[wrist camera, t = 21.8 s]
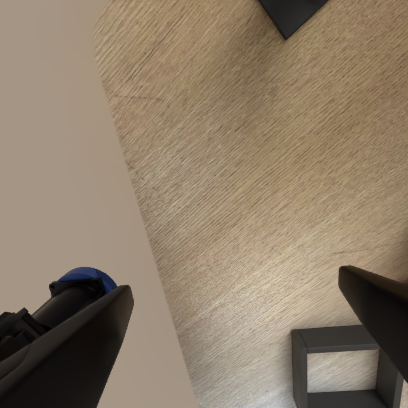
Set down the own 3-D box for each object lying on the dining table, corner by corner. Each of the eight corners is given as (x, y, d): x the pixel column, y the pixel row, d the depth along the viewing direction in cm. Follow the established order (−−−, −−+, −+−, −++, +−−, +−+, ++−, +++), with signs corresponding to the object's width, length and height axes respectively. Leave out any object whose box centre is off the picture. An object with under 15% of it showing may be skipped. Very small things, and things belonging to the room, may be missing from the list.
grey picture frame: (293, 397, 27) (301, 421, 25) (291, 329, 24) (300, 348, 22) (381, 393, 26) (398, 417, 24) (389, 322, 24) (409, 341, 21)
